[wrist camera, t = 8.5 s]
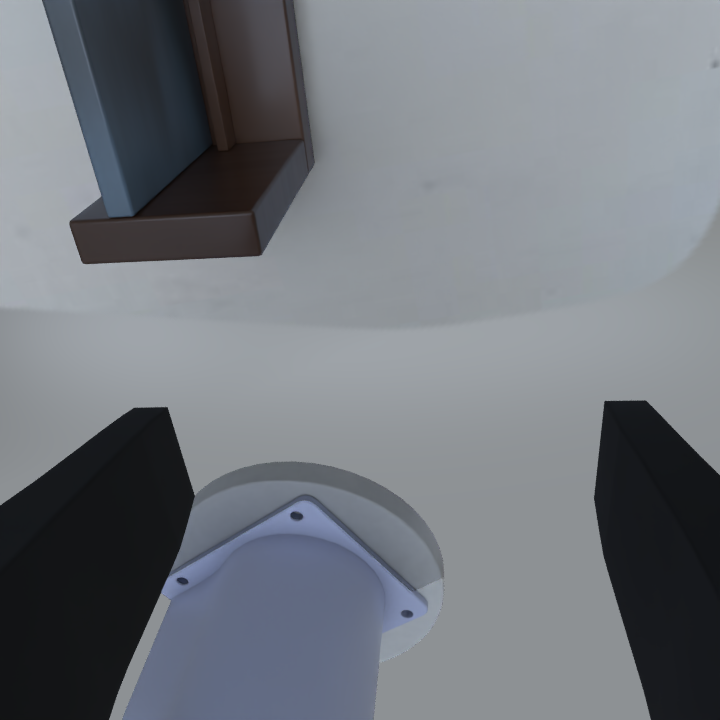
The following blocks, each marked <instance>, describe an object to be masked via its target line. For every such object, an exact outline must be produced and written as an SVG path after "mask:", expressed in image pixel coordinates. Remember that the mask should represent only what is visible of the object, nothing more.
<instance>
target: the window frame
mask: <svg viewBox="0 0 720 720" xmlns="http://www.w3.org/2000/svg"><path fill="white" fill-rule="evenodd" d="M42 1H43V5H44V8H45V11H46V14H47V18H48V21H49V24H50V28H51V31H52V34H53V38H54V41H55V44H56V47H57V51H58V54H59V57H60V61H61V64H62V67H63V70H64V74H65V77H66V80H67V84H68V87H69V90H70V94H71V97H72V100H73V103H74V107H75V110H76V113H77V117H78V120H79V123H80V126H81V130H82V133H83V136H84V140H85V143H86V146H87V149H88V153H89V156H90V159H91V163H92V166H93V169H94V173H95V176H96V179H97V182H98V186H99V189H100V192H101V196H102V197H100V198H99V199H98V200H96V201H95V202H94V203H93V204H91V205H90V206H89V207H87V208H86V209H85V210H84V211H82V212H81V213H80V214H78V215H77V216H76V217H75V218H73V219H72V220H71V221H70V228H71V231H72V234H73V237H74V240H75V243H76V246H77V249H78V252H79V255H80V258H81V261H82V262H83V264H98V263H120V262H141V261H162V260H184V259H205V258H227V257H248V256H260V255H262V253H263V252H264V250H265V248H266V247H267V245H268V243H269V241H270V240H271V238H272V236H273V234H274V233H275V231H276V229H277V227H278V226H279V224H280V222H281V221H282V219H283V217H284V215H285V214H286V212H287V210H288V208H289V207H290V205H291V203H292V202H293V200H294V198H295V196H296V195H297V193H298V191H299V189H300V188H301V186H302V184H303V182H304V181H305V179H306V177H307V176H308V174H309V172H310V170H311V169H312V167H313V165H314V156H313V148H312V141H311V133H310V125H309V118H308V110H307V103H306V95H305V88H304V80H303V73H302V65H301V58H300V50H299V43H298V35H297V28H296V20H295V13H294V5H293V0H42Z"/></svg>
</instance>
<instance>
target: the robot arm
mask: <svg viewBox="0 0 720 720" xmlns="http://www.w3.org/2000/svg"><path fill="white" fill-rule="evenodd" d="M602 421H603V422H602V430H601V439H600V449H599V458H598V467H597V476H596V486H595V495H594V501H595V507H596V513H597V520H598V526H599V532H600V538H601V544H602V549H603V555H604V559H605V563H606V566H607V570H608V573H609V576H610V580H611V583H612V587H613V590H614V593H615V596H616V600H617V603H618V607H619V610H620V613H621V617H622V620H623V623H624V626H625V630H626V633H627V637H628V640H629V643H630V647H631V650H632V653H633V657H634V660H635V663H636V667H637V670H638V673H639V676H640V680H641V683H642V687H643V690H644V694H645V697H646V702H647V706H648V709H649V714H650V718H651V720H720V475H719V474H718V473H717V472H716V471H715V470H714V469H713V468H712V467H711V466H710V465H709V464H708V463H707V462H706V461H705V460H704V459H703V458H702V457H701V456H699V454H698V453H697V452H696V451H695V450H694V449H693V448H692V447H691V446H690V445H689V444H688V443H687V442H686V441H685V440H684V439H683V438H682V437H681V436H680V435H679V434H678V433H677V432H676V431H675V430H674V429H673V428H672V427H671V426H670V425H669V424H668V423H667V421H665V419H663V417H662V416H661V415H660V414H659V413H658V412H657V411H656V410H655V409H654V408H653V407H652V406H651V405H650V404H649V403H648V402H647V401H605V402H604V411H603V420H602ZM194 497H195V495H194V492H193V489H192V486H191V482H190V479H189V476H188V473H187V469H186V466H185V463H184V459H183V456H182V453H181V450H180V447H179V443H178V440H177V437H176V434H175V430H174V427H173V424H172V420H171V417H170V414H169V411H168V408H167V407H155V408H133V409H132V410H130V411H129V412H127V413H126V414H124V415H123V416H121V417H120V418H118V419H117V420H116V421H114V422H113V423H112V424H110V425H109V426H107V427H106V428H105V429H103V430H102V431H101V432H99V433H98V434H97V435H95V436H94V437H93V438H91V439H90V440H89V441H88V442H86V443H85V444H84V445H82V446H81V447H80V448H78V449H77V450H76V451H74V452H73V453H72V454H70V455H69V456H68V457H66V458H65V459H64V460H62V461H61V462H60V463H58V464H57V465H56V466H55V467H53V468H52V469H51V470H49V471H48V472H47V473H45V474H44V475H43V476H41V477H40V478H38V479H37V480H36V481H35V482H33V483H32V484H30V485H29V486H27V487H26V488H25V489H23V490H22V491H20V492H19V493H17V494H16V495H15V496H13V497H12V498H10V499H9V500H7V501H6V502H5V503H3V504H2V505H0V720H109V718H110V715H111V712H112V709H113V705H114V703H115V700H116V697H117V694H118V691H119V689H120V686H121V684H122V681H123V678H124V676H125V673H126V670H127V668H128V666H129V664H130V661H131V659H132V657H133V654H134V652H135V650H136V648H137V646H138V643H139V641H140V639H141V637H142V634H143V632H144V630H145V627H146V625H147V623H148V621H149V619H150V616H151V614H152V612H153V609H154V607H155V605H156V603H157V600H158V598H159V596H160V594H161V593H162V594H163V595H165V596H166V597H168V598H169V599H170V600H171V603H170V605H169V607H168V610H167V612H166V615H165V617H164V619H163V622H162V624H161V627H160V629H159V631H158V634H157V636H156V638H155V641H154V643H153V646H152V648H151V651H150V653H149V655H148V658H147V660H146V662H145V665H144V667H143V670H142V672H141V675H140V677H139V679H138V682H137V684H136V687H135V689H134V691H133V694H132V696H131V699H130V701H129V703H128V706H127V708H126V710H125V713H124V716H123V719H122V720H373V719H374V709H375V699H376V688H377V679H378V669H379V659H380V649H381V639H382V633H384V632H387V631H389V630H391V629H393V628H396V627H398V626H400V625H403V624H405V623H407V622H409V621H412V620H414V619H416V618H419V617H421V616H423V615H425V614H426V613H427V611H428V601H427V600H426V599H425V598H424V597H423V596H422V595H421V594H420V593H419V592H418V591H416V590H415V589H414V588H413V587H412V586H411V585H410V584H409V583H408V582H407V581H406V580H404V579H403V578H402V577H401V576H400V575H399V574H398V573H397V572H396V571H395V570H393V569H392V568H391V567H390V566H389V565H388V564H387V563H386V562H385V561H384V560H382V559H381V558H380V557H379V556H378V555H377V554H376V553H375V552H374V551H373V550H372V549H370V548H369V547H368V546H367V545H366V544H365V543H364V542H363V541H362V540H361V539H359V538H358V537H357V536H356V535H355V534H354V533H353V532H352V531H351V530H350V529H348V528H347V527H346V526H345V525H344V524H343V523H342V522H341V521H340V520H339V519H338V518H336V517H335V516H334V515H333V514H332V513H331V512H330V511H329V510H328V509H327V508H325V507H324V506H323V505H322V504H321V503H320V502H319V501H318V500H317V499H315V498H314V497H312V496H308V495H303V496H300V497H298V498H296V499H294V500H293V501H291V502H289V503H288V504H286V505H284V506H282V507H281V508H279V509H277V510H276V511H274V512H272V513H270V514H269V515H267V516H265V517H264V518H262V519H260V520H259V521H257V522H255V523H253V524H252V525H250V526H248V527H247V528H245V529H243V530H241V531H240V532H238V533H236V534H235V535H233V536H231V537H230V538H228V539H226V540H224V541H223V542H221V543H219V544H218V545H216V546H214V547H212V548H211V549H209V550H207V551H206V552H204V553H202V554H201V555H199V556H197V557H195V558H194V559H192V560H190V561H189V562H187V563H185V564H183V565H182V566H180V567H178V568H177V569H175V570H173V571H172V572H170V571H171V568H172V566H173V564H174V562H175V559H176V557H177V554H178V552H179V550H180V547H181V543H182V540H183V537H184V533H185V530H186V527H187V523H188V519H189V516H190V512H191V508H192V504H193V501H194ZM294 511H298V512H300V513H301V514H298V513H295V512H294Z"/></svg>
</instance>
